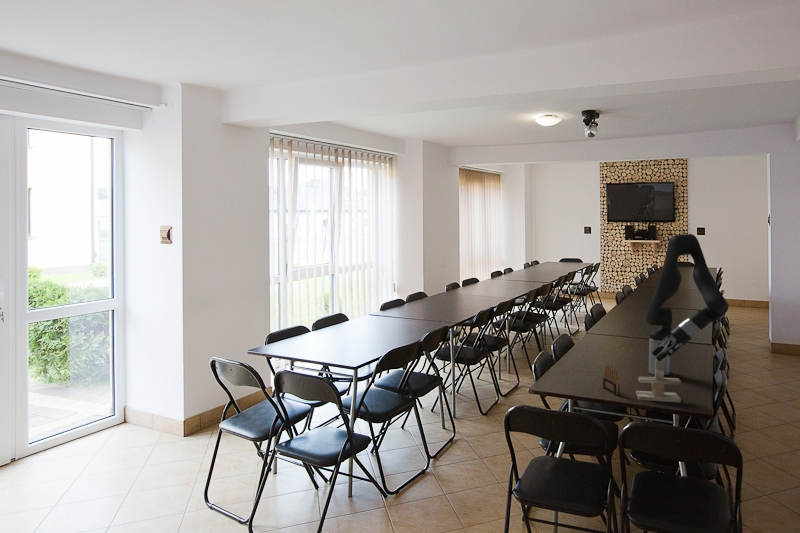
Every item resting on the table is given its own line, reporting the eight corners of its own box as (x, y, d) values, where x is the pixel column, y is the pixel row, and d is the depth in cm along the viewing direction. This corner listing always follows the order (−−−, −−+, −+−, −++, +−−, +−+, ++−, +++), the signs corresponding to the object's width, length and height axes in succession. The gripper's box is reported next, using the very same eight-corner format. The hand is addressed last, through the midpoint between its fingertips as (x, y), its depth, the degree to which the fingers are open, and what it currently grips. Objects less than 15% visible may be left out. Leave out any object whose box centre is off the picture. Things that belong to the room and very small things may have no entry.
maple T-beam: (637, 379, 237) (638, 357, 237) (678, 381, 234) (678, 358, 233) (639, 382, 234) (640, 359, 233) (680, 384, 230) (681, 361, 229)
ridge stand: (635, 394, 240) (636, 378, 239) (675, 396, 236) (675, 380, 236) (639, 400, 232) (639, 383, 232) (680, 402, 229) (680, 385, 228)
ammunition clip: (619, 395, 239) (620, 368, 238) (615, 395, 239) (616, 368, 238) (606, 387, 250) (606, 361, 249) (602, 387, 249) (603, 362, 248)
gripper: (674, 321, 237) (645, 346, 240) (683, 328, 223) (652, 354, 226) (687, 334, 236) (657, 359, 240) (697, 341, 222) (665, 368, 226)
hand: (655, 357), depth 233 cm, fingers open, 8 cm apart
